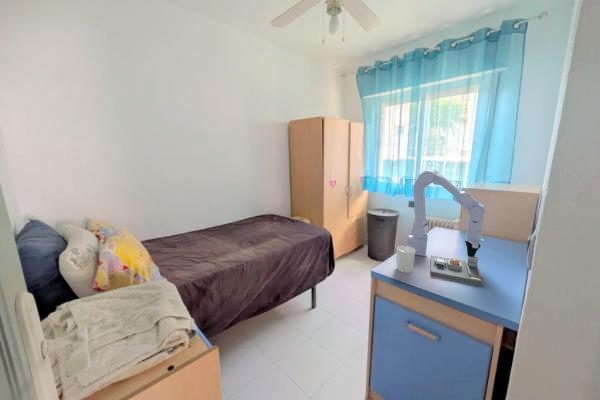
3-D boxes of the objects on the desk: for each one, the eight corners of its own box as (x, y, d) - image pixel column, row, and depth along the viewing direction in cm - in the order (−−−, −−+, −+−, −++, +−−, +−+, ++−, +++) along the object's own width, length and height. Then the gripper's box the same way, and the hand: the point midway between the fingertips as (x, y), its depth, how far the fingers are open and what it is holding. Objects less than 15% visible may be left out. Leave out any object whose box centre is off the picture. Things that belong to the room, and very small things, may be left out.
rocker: (436, 263, 110) (437, 261, 110) (436, 260, 116) (436, 258, 115) (444, 264, 109) (444, 262, 109) (443, 261, 114) (443, 259, 114)
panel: (430, 275, 107) (431, 267, 106) (430, 259, 122) (431, 251, 122) (482, 286, 98) (483, 277, 97) (475, 267, 114) (476, 259, 113)
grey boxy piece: (467, 266, 109) (468, 257, 109) (466, 264, 112) (467, 255, 111) (477, 268, 108) (478, 258, 107) (476, 266, 110) (477, 256, 109)
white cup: (405, 275, 107) (407, 254, 105) (391, 267, 114) (392, 247, 112) (417, 270, 111) (419, 250, 109) (403, 263, 118) (404, 244, 116)
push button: (450, 266, 109) (451, 260, 109) (450, 263, 112) (450, 257, 111) (458, 268, 108) (459, 261, 107) (457, 265, 110) (458, 259, 110)
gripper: (488, 235, 103) (483, 265, 106) (482, 226, 116) (478, 252, 119) (468, 233, 107) (464, 262, 109) (464, 224, 119) (461, 250, 122)
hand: (470, 257), depth 114 cm, fingers closed
